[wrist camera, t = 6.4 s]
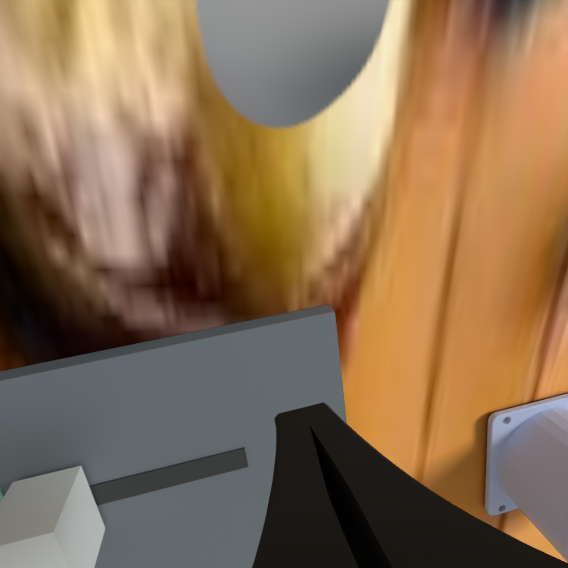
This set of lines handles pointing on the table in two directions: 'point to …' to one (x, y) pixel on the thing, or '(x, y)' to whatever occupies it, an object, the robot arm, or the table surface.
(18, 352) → the table surface
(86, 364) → the switch board
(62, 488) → the block
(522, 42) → the table surface
